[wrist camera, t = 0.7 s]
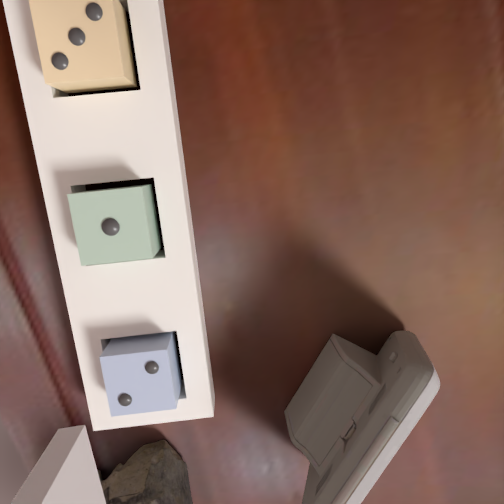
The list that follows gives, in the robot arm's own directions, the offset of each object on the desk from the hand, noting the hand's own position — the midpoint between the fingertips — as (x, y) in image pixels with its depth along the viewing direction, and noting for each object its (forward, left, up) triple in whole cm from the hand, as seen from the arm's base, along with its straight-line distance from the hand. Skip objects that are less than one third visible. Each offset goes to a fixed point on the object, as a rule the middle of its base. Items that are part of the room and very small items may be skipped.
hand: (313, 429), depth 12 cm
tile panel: (-4, -10, -23) cm, 25 cm away
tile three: (-16, -10, -21) cm, 29 cm away
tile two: (+8, -10, -21) cm, 25 cm away
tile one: (-4, -10, -21) cm, 24 cm away
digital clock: (+14, +7, -23) cm, 27 cm away
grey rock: (+22, -13, -23) cm, 34 cm away
